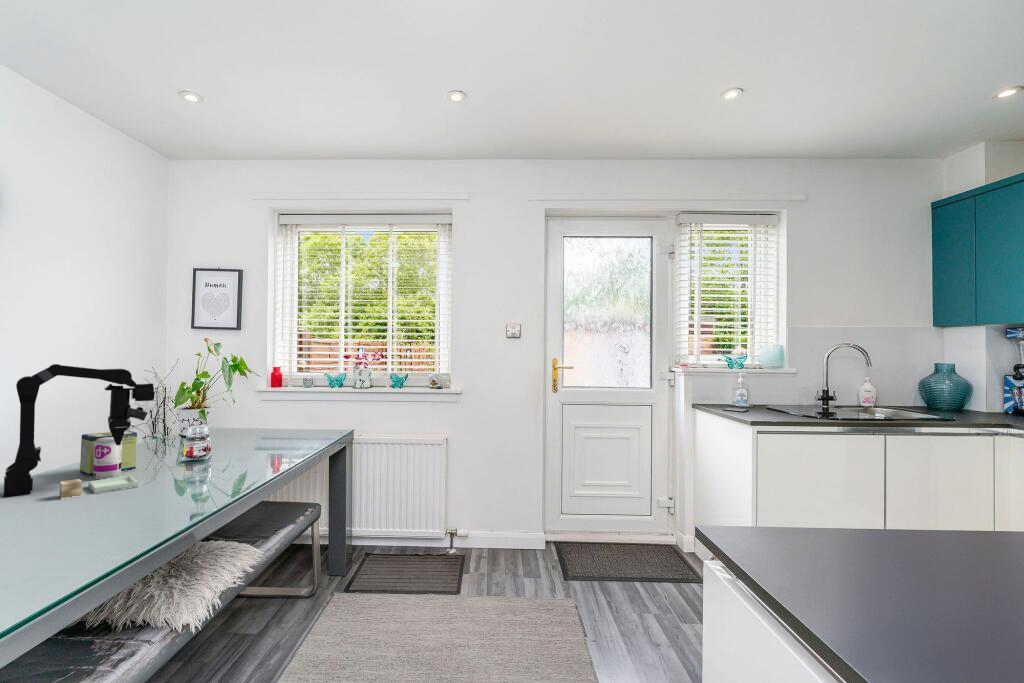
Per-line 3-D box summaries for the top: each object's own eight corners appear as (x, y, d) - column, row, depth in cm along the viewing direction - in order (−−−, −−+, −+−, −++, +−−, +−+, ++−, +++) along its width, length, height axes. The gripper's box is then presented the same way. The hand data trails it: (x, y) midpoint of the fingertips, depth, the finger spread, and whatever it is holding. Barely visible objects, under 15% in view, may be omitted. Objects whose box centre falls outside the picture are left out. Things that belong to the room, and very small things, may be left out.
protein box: (136, 470, 203) (138, 432, 203) (89, 477, 189) (90, 437, 190) (125, 466, 208) (127, 429, 208) (78, 473, 195) (80, 434, 195)
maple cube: (61, 499, 162) (61, 484, 162) (59, 496, 165) (60, 481, 165) (81, 496, 166) (81, 481, 166) (79, 493, 169) (79, 478, 169)
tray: (94, 493, 169) (94, 488, 169) (88, 486, 177) (88, 481, 177) (137, 487, 178) (137, 481, 178) (130, 481, 186) (130, 475, 186)
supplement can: (108, 480, 186) (110, 440, 186) (87, 479, 186) (88, 440, 186) (126, 475, 194) (127, 436, 194) (105, 474, 194) (107, 436, 194)
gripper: (148, 403, 184) (146, 445, 184) (144, 399, 198) (142, 437, 198) (110, 404, 177) (107, 448, 177) (108, 400, 191) (106, 440, 191)
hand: (117, 443), depth 186 cm, fingers open, 9 cm apart
